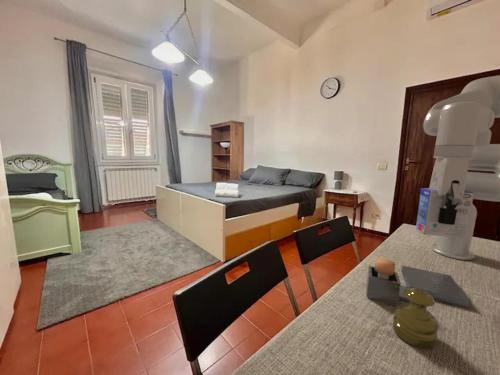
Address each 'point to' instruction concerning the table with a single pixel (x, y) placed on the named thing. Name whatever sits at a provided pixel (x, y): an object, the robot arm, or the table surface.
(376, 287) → the frame
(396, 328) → the olive green swirled figurine
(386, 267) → the brown oval egg shape
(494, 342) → the table surface
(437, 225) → the ink cartridge box
